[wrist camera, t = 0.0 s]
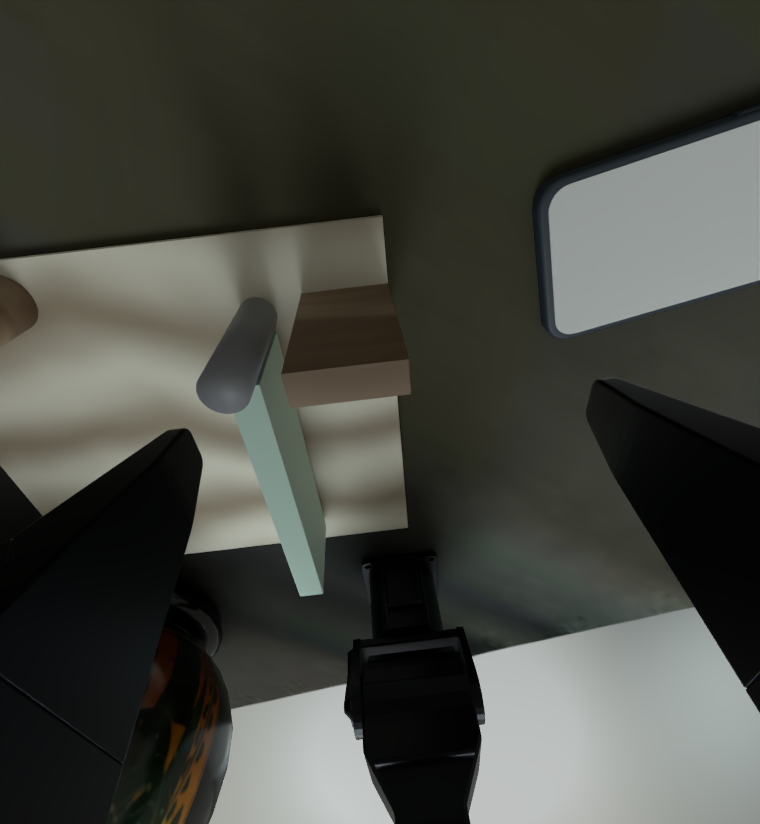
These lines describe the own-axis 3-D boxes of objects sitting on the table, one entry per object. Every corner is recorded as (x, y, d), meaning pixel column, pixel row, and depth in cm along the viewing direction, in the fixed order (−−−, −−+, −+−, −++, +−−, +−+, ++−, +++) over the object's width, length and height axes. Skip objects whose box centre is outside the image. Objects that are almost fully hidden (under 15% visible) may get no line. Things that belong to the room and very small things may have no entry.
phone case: (538, 336, 26) (822, 254, 23) (549, 348, 24) (850, 261, 22) (524, 180, 21) (882, 58, 18) (536, 183, 19) (923, 53, 17)
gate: (233, 299, 21) (187, 372, 15) (272, 294, 21) (242, 365, 15) (303, 528, 32) (293, 627, 25) (329, 525, 32) (325, 623, 25)
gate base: (407, 523, 34) (425, 636, 26) (87, 561, 33) (14, 685, 26) (381, 214, 20) (403, 266, 13) (-149, 275, 20) (-432, 363, 13)
